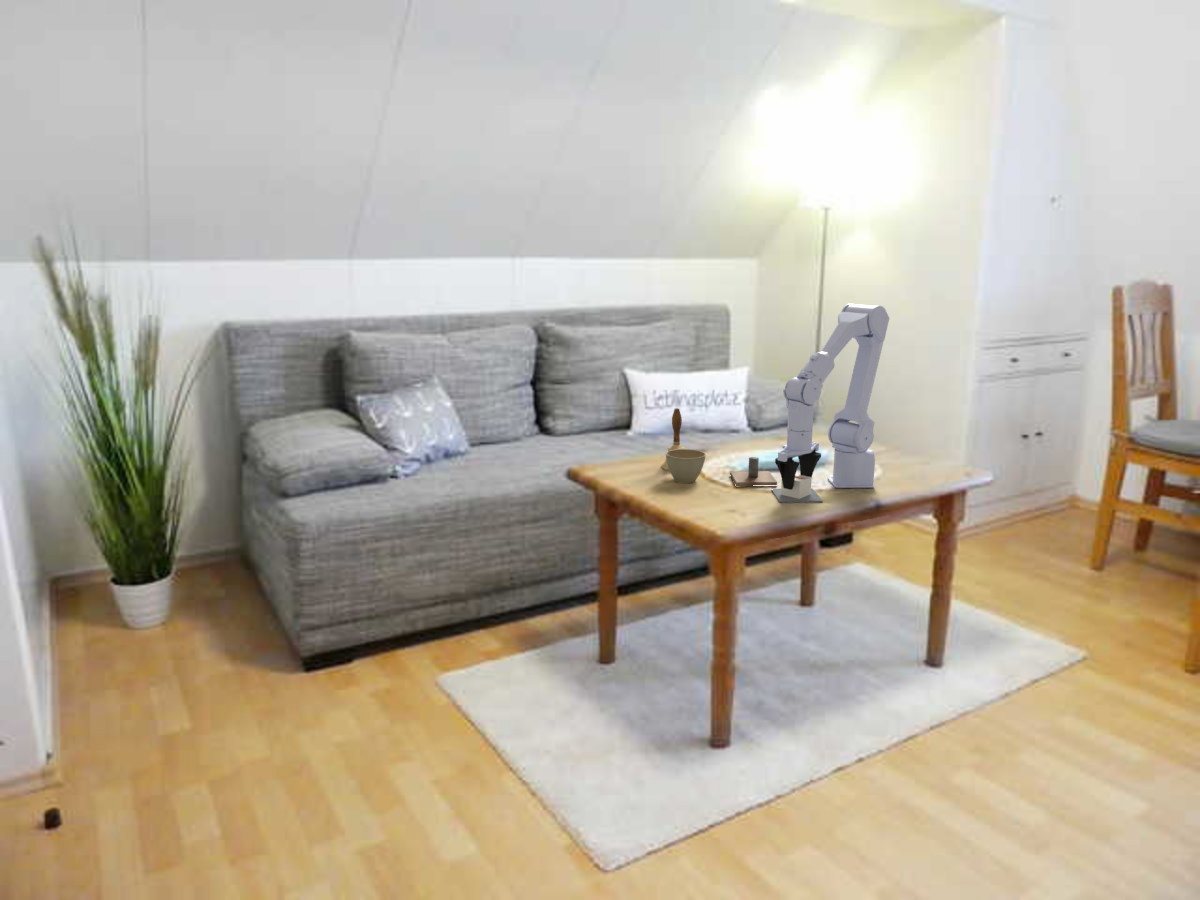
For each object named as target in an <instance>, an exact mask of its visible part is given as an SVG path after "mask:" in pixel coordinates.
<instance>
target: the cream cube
mask: <svg viewBox="0 0 1200 900" xmlns="http://www.w3.org/2000/svg"><path fill="white" fill-rule="evenodd" d="M812 478H813V476H812V477H808V476H803V475H800V474H797V473H796V474H795V480H794V486H793V489H792V490H790V489H785V488H784V487H783V482H782V481H781V487H780V489H781V495H785V496H789V497H793V498H798V499H800V498H803V497H805V496H808V495H810V494H811V488H812Z"/></svg>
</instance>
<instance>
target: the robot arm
mask: <svg viewBox="0 0 1200 900" xmlns="http://www.w3.org/2000/svg"><path fill="white" fill-rule="evenodd" d="M889 322H890V316H889V314H888V311H887V310H886V308H885V307H884V306H882V305H869V304H858V303H857V304H855V303H852V302H851V303H847V304H845V305H844V306H843V308H842V309H841V311H840V313H839V314H838V316H837V325H836V327H835V329H834V331H833V332H832V334H831V335H830V336H829V338H828V340H827V342H826V343H825V345H824V347H823V348H822V350H821V351H818V352H814V353H813V354H811V355H810V357H809V359H808V360H807V362H806V363H805V365H804V366H803V368H801V370H800V372H799V373H798V374H797V376H794V377H792V378H791V379H789V380H788V381H787V382H786V384H785V388H784V389H783V396H784V400H785V401H786V408H787V426H786V428H787V430H786V443H785V444H783V445H782V450H781V451H778V453H777V457H775V459H774V463H775V465H776V466H777V469H778V471H779V473H780V476H781V483H782V482H783V487H784V488H785V489H790V490H792V489H793V486H794V480H795V474H797V471H798V468H800V469H799V471H800V472H799V473H800V474H799V475H803V476H808V477H812V478H813V475H814V471H815V468H816V466H817V464H818V463H819V461H820V460H821V458H822V453H821V452H819V449H820V448H819V447H820V445H819V443H820V442H815V441H813V427H814V426H813V425H814V412H815V411H814V408H815V407H814V406H815V403H816V402H818V400H819V399H820V397H821V393H822V389H823V385H824V382H825V381H826V379H827V378H828V376H829V375H830V374H831V373H832V372H833V370H834V368H835V362H834V360H835V359H836V358H837V357H838V356H839V354H840V353H842V351H843V349H844V348H845V347H846V346H847V345H848V344H849V342H850V341H852V339H854V340H855V341H856V342H857V344H858V349H857V353H856V358H855V361H854V366H853V369H852V375H851V379H850V382H849V387H848V392H847V395H846V400H845V404H844V407H843V408H842V409H841V410H839V411H838V412H836V413H835V414H834V416H833V421H832V422H831V424H830V426H829V428H828V431H827V432H828V434H827V436H828V440H829V442H830V443H831V444H832V448H834V454H833V455H834V456H833V469H832V470H833V471H832V477H831V476H829V477H827V480H828V482H830V483H831V484H832V486H834V488H837V489H838V488H840V489H849V488H851V489H852V488H853V489H854V488H857V489H858V488H859V489H861V488H863V489H864V488H867V489H868V488H869V489H870V488H872V489H873V488H875V485H874V481H875V480H874V478H875V469H876V468H875V467H876V457H875V453H874V450H873V449H871V448H870V447H871V445H872V444H873V441H874V436H875V435H874V428H875V427H874V426H875V421H874V419H873V418H872V417H871V416H870V415H869V414H868V410H869V404H870V401H871V397H872V392H873V387H874V383H875V379H876V375H877V369H878V366H879V362H880V357H881V354H882V350H883V345H884V342H885V339H886V335H887V330H888V325H889ZM850 421H852V422H850ZM854 422H855V423H854ZM794 458H798V461H795V460H794Z"/></svg>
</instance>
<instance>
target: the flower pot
mask: <svg viewBox="0 0 1200 900" xmlns="http://www.w3.org/2000/svg"><path fill="white" fill-rule="evenodd" d="M706 456H707V454H706V453H705V452H704V451H702V450H697V449H693V448H692V449H691V448H685V449H676V450H670V451H668V450H667V451H666V452H665V460H667V464H668V467H669V470H670V471H669V470H668V471H669V472H670V474H671V477H672V478H673V479H674V480H673V481H675V482H676V483H680V484H692V483H695V482H696V480H698V478H699V475H700V474H701V472H702V469H703V467H704V465H705V460H706Z"/></svg>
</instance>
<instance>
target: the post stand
mask: <svg viewBox="0 0 1200 900" xmlns="http://www.w3.org/2000/svg"><path fill="white" fill-rule="evenodd" d="M759 461H760V458H759V457H757V456H751V457H749V458H748V471H747V470H745V471H744V470H743V471H741V470H740V471H735V470H734V471H729V472H730V473H729V476H730V475H731V477H732V478H731V477H730V478H731V480H732V479H733V480H732V482H733V481H734V482H733V483H735V484H736V486H753V485H777V486H778V482H777V480H776V479H775V477H774V475H772V473H771V472H770V471H768V470H765V471H764V470H760V471H759ZM735 484H734V485H735ZM736 486H735V487H736Z"/></svg>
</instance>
